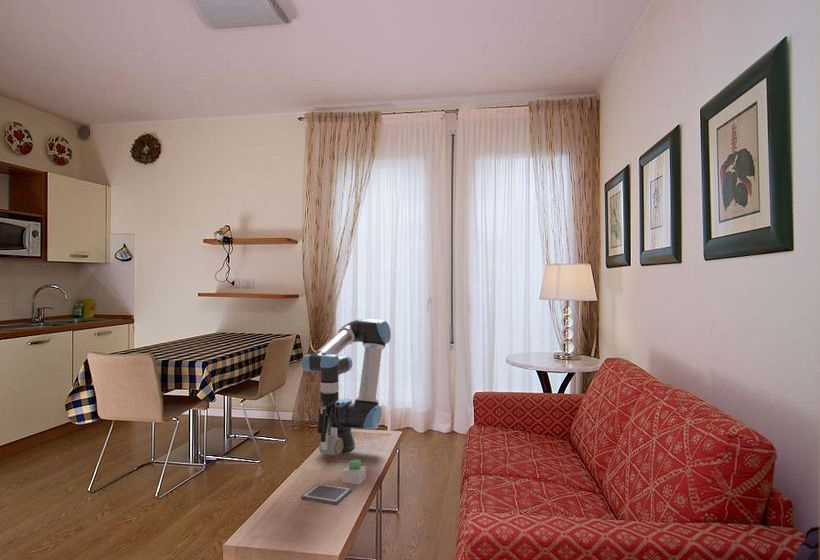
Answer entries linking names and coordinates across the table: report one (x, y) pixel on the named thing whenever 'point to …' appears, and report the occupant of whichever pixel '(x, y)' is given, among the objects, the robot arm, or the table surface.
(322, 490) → the mat
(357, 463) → the button
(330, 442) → the ceramic mug
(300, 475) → the table surface
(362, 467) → the button box
